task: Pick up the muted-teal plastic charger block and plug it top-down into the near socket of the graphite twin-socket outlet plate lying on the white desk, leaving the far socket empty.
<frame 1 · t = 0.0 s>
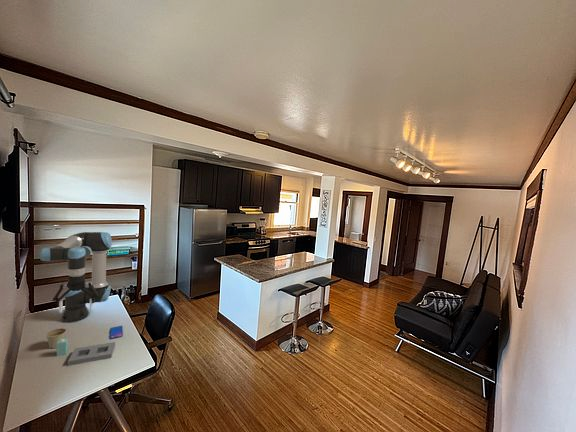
hand: (76, 310, 141), 28 cm above the table, fingers open, 13 cm apart
charger: (62, 353, 144), on the table
flower pot: (56, 345, 150), on the table
smartphone: (116, 333, 168), on the table
outlet plate: (93, 355, 145), on the table
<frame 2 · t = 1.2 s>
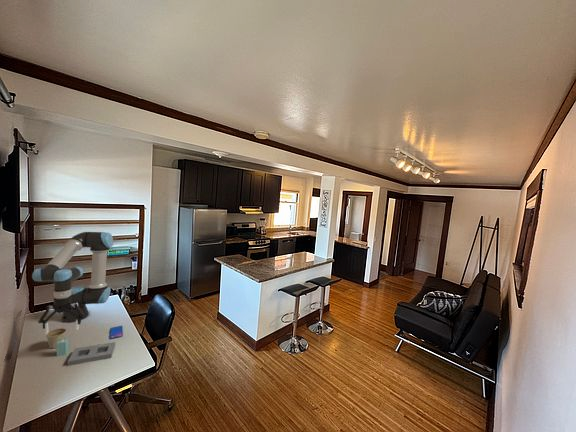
hand: (62, 331, 143), 14 cm above the table, fingers open, 13 cm apart
nothing on the table moved.
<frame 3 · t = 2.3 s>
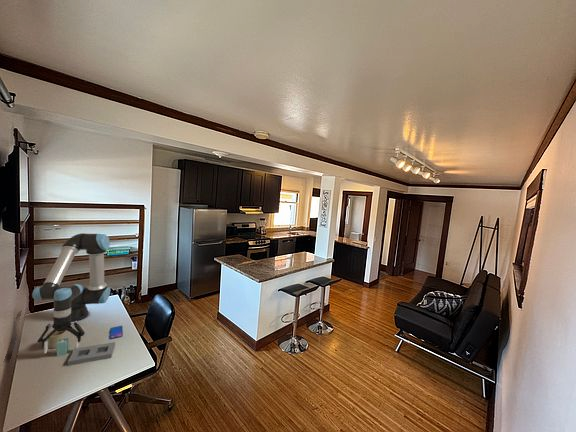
hand: (61, 349, 144), 3 cm above the table, fingers open, 13 cm apart
nothing on the table moved.
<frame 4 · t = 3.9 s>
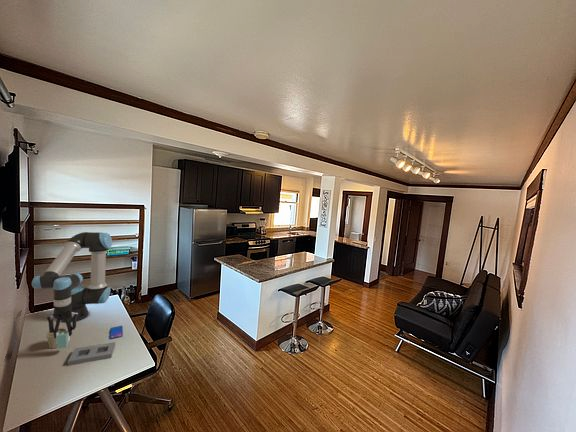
hand: (63, 341, 144), 7 cm above the table, fingers closed on charger, 4 cm apart
charger: (63, 345, 144), point 5 cm above the table, touching gripper
everything else where it was.
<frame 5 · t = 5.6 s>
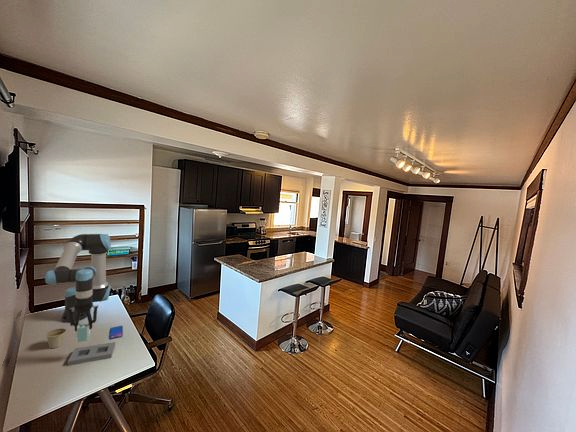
hand: (83, 335, 142), 14 cm above the table, fingers closed on charger, 4 cm apart
charger: (83, 339, 141), point 11 cm above the table, touching gripper
everything else where it was.
when the fingers open (3 cm above the table, at t = 7.2 s): charger stays where it is, resting on outlet plate.
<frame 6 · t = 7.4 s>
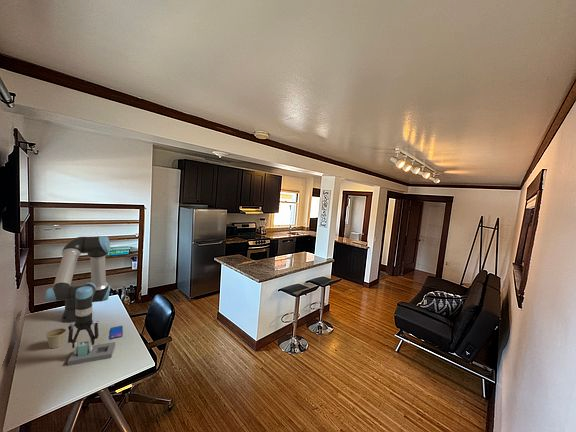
hand: (83, 351, 143), 3 cm above the table, fingers open, 6 cm apart
charger: (83, 356, 143), resting on outlet plate
everything else where it was.
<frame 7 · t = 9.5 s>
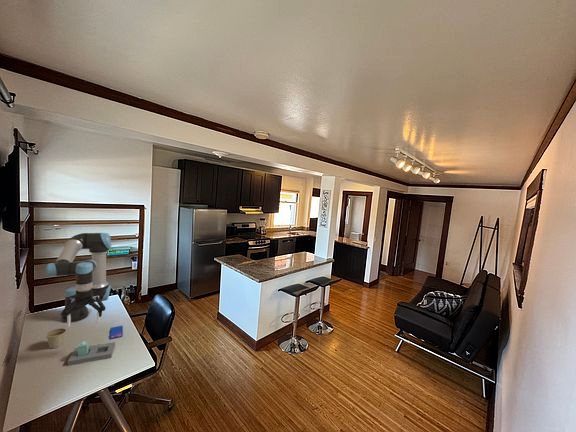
hand: (83, 323, 143), 19 cm above the table, fingers open, 13 cm apart
nothing on the table moved.
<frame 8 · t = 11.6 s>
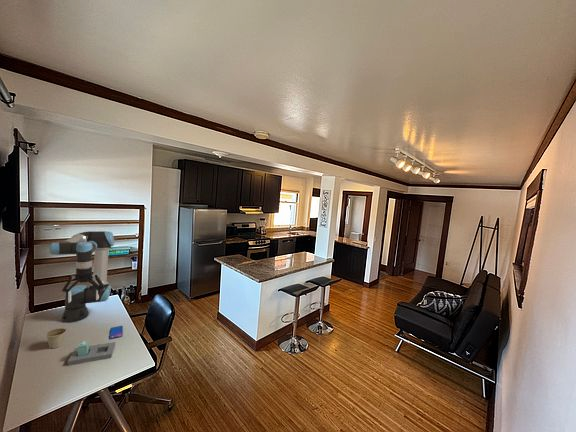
hand: (83, 300, 151), 29 cm above the table, fingers open, 13 cm apart
nothing on the table moved.
at the end: charger 0.3 cm from the target spot on the outlet plate, point 0.3 cm above the outlet plate's base; charger tilted 0°; the gripper is holding nothing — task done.
